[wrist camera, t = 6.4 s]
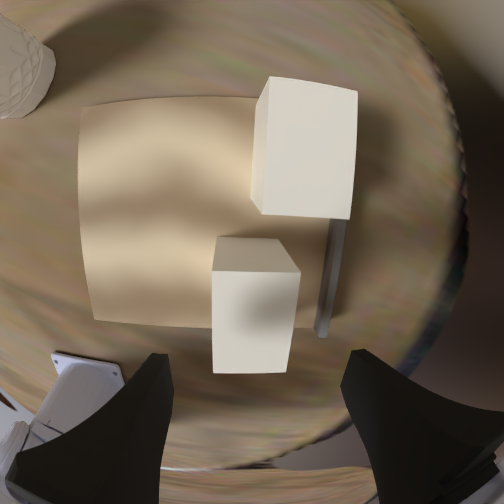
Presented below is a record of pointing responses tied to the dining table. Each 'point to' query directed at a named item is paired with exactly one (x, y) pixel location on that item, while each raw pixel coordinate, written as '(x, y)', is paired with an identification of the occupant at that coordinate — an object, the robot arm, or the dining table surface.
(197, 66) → the dining table surface
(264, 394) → the dining table surface
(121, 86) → the dining table surface
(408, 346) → the dining table surface
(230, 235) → the shelf board
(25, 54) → the white cup
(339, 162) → the faced carton
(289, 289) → the carton
